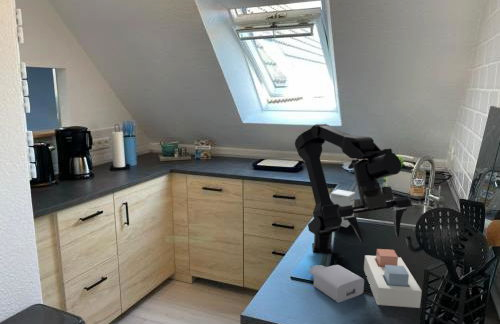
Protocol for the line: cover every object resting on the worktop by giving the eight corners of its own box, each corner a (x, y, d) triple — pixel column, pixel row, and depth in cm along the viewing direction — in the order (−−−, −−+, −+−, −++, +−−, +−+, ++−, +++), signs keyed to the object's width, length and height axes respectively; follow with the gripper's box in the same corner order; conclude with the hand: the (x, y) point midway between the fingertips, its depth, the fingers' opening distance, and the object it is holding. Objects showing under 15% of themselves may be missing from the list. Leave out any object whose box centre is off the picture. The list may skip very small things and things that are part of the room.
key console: (363, 269, 111) (364, 255, 110) (399, 272, 109) (400, 257, 109) (377, 304, 93) (378, 287, 92) (419, 307, 92) (421, 290, 91)
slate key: (383, 281, 98) (384, 264, 97) (401, 282, 98) (403, 266, 97) (387, 290, 94) (389, 273, 93) (407, 291, 93) (408, 274, 92)
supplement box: (328, 224, 148) (330, 192, 145) (335, 218, 154) (337, 188, 151) (346, 228, 144) (348, 196, 141) (353, 222, 150) (355, 191, 147)
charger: (324, 270, 110) (363, 294, 98) (298, 277, 106) (336, 304, 93) (325, 255, 109) (364, 277, 97) (299, 262, 105) (337, 286, 92)
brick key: (375, 263, 108) (376, 248, 107) (392, 264, 107) (393, 249, 106) (379, 271, 103) (380, 255, 102) (396, 272, 103) (397, 256, 102)
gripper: (334, 185, 97) (346, 247, 94) (410, 172, 94) (425, 235, 91) (332, 188, 107) (343, 244, 105) (400, 177, 105) (413, 233, 102)
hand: (379, 239), depth 100 cm, fingers open, 9 cm apart
